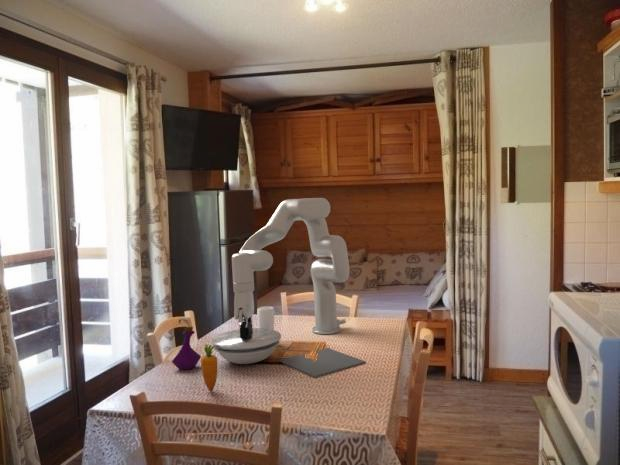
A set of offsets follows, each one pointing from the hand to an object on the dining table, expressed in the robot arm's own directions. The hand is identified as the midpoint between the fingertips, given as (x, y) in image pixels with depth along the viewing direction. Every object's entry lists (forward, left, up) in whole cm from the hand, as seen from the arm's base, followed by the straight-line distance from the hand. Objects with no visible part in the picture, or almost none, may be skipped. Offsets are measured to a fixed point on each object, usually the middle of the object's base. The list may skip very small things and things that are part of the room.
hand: (246, 335), depth 187 cm
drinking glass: (-16, -13, -9) cm, 23 cm away
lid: (0, 0, -1) cm, 1 cm away
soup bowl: (0, 0, -10) cm, 10 cm away
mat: (-19, +20, -9) cm, 29 cm away
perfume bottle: (+20, -8, -9) cm, 24 cm away
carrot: (+23, +19, -9) cm, 31 cm away
